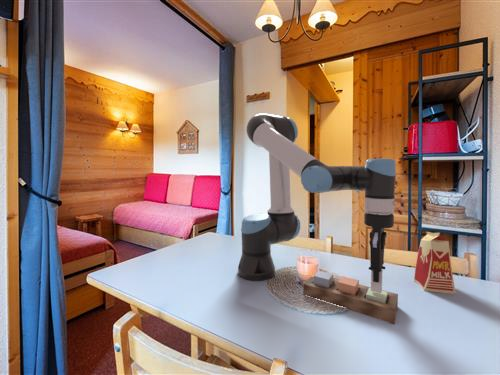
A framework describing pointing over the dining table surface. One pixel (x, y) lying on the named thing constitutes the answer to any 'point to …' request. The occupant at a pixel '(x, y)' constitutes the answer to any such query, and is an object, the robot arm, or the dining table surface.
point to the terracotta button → (348, 285)
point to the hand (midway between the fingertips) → (376, 290)
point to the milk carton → (434, 265)
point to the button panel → (354, 300)
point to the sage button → (377, 296)
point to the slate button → (323, 279)
